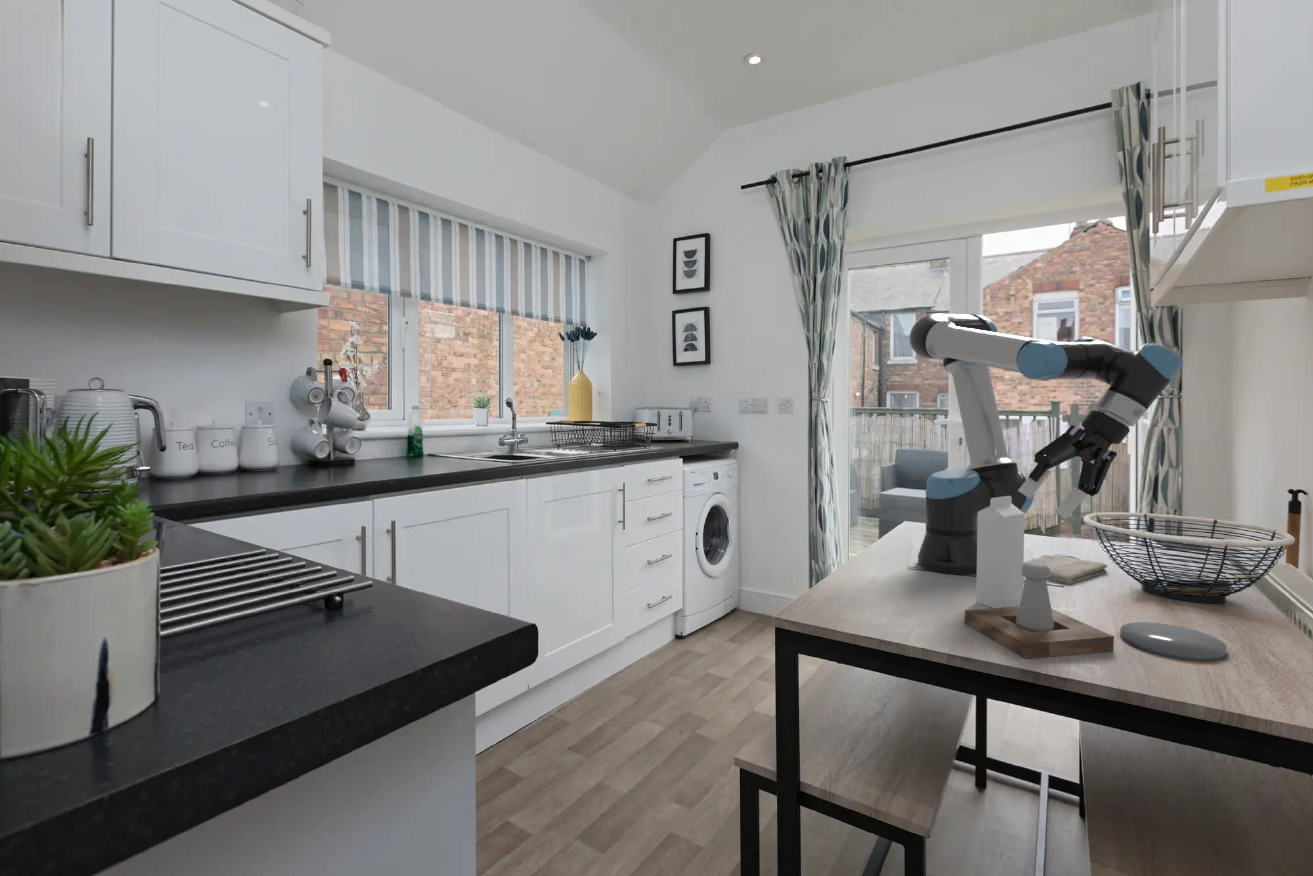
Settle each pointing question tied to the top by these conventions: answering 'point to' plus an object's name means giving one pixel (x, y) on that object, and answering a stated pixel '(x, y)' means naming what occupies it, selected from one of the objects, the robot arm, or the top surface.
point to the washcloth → (1070, 568)
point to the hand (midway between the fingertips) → (1042, 505)
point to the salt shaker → (1035, 599)
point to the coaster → (1173, 641)
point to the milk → (1000, 554)
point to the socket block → (1039, 634)
